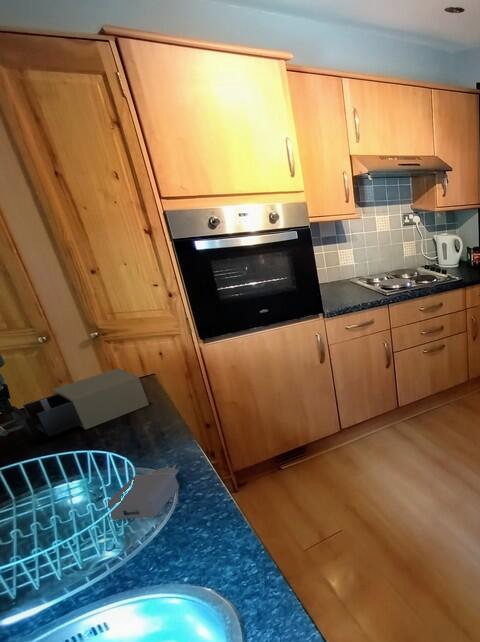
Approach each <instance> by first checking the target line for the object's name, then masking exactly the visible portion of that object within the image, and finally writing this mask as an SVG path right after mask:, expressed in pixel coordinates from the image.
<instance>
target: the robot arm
mask: <svg viewBox="0 0 480 642" xmlns="http://www.w3.org/2000/svg"><path fill="white" fill-rule="evenodd" d="M5 364H6V361H5V359H4V358H3V356H2V354H1V353H0V369H1V368H2V367H4V366H5ZM9 399H11V395H10V390H9V385H8V384H6V383H5V378H4V376H3V374H1V373H0V414H1V415H9V414H11V412H13V411H14V409H13V408H12V406H13V405H12V403H11V402H10V400H9Z"/></svg>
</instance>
